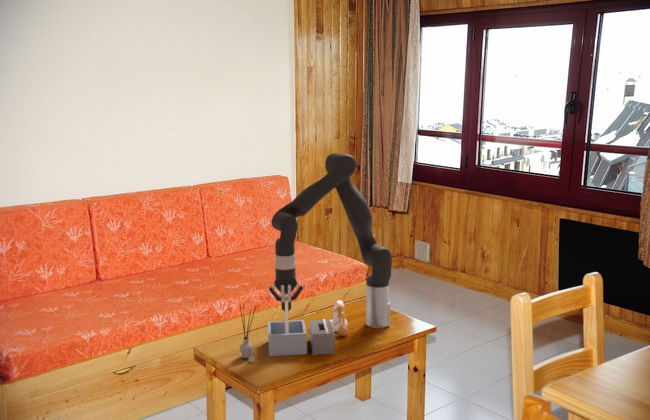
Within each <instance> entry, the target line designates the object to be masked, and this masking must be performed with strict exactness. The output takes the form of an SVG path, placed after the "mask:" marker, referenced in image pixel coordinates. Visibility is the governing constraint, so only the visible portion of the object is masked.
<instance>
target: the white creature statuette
mask: <svg viewBox="0 0 650 420" xmlns="http://www.w3.org/2000/svg"><path fill="white" fill-rule="evenodd" d="M340 305H341V306H342V307H343V308H345V304H344V302H343V300H339V299H338V300H336V302H335V304H333V308H332V311H333V310H335V309H336V307H337V306H340ZM343 310H344V309H342V314H344V312H343ZM337 315H339V314H338V312H337V310H336V311H334V313H333V320H332V319H329V320H330V321H331V324H332V328H333V330H334V333H335V332H338V328H339V327H340V324H339V321H340V320H339V319H338V316H337ZM342 320H343V319H342V317H341V322H340V323H341V326H343V323H344V325H345V326H346V327H347V326H348V320H347V319H346V318H345V320H344V322H343V323H342ZM347 328H348V327H347Z"/></svg>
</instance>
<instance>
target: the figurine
mask: <svg viewBox="0 0 650 420" xmlns="http://www.w3.org/2000/svg"><path fill="white" fill-rule="evenodd" d="M342 309H343V310H345V311H346V313H348V314H349V316H351V314H350V311H348V309H347V308H346V307H344V308H343V307H342V306H341V305H340V306H337V307H336V309H335V310H333V309H332V312H331V320H333V313H334V311H336V310H337V312H338V314H339V315H337V316H338V319H339V320H340V321H339V324H340V327H339V328H338V331H337V332H338V334H339V336H341V337H345V336H346V335H348V333H349V329H348V327H346V326H345V325H344V323H343V322H344V320H345V319H346V318H345V316H344V313H343V314H342V312H343V310H342ZM341 317H342V319H343V320H342V323H343V326H341V323H340V322H341Z"/></svg>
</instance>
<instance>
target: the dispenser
mask: <svg viewBox="0 0 650 420" xmlns="http://www.w3.org/2000/svg"><path fill="white" fill-rule="evenodd" d="M330 320H331V319H325V318H322V319H321V320H320V319H319V320H318V319H317V320H309V321H308V323H309V342H310V349H311V352H312V353H311V354H312V356H317V355H319V356H321V355H335V332H334V331H333V328H332V324H331V321H330Z"/></svg>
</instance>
